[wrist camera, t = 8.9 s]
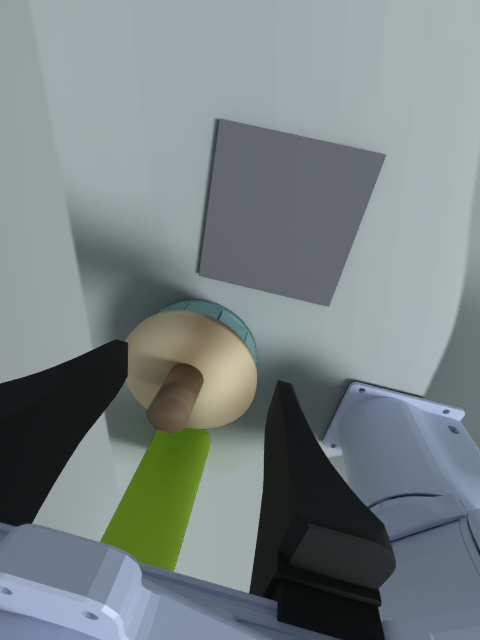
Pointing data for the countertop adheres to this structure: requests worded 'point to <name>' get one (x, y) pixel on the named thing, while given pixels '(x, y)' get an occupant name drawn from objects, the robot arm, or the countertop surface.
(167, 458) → the soap dispenser
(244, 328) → the bowl
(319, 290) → the mat
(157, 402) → the lid
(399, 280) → the countertop surface
